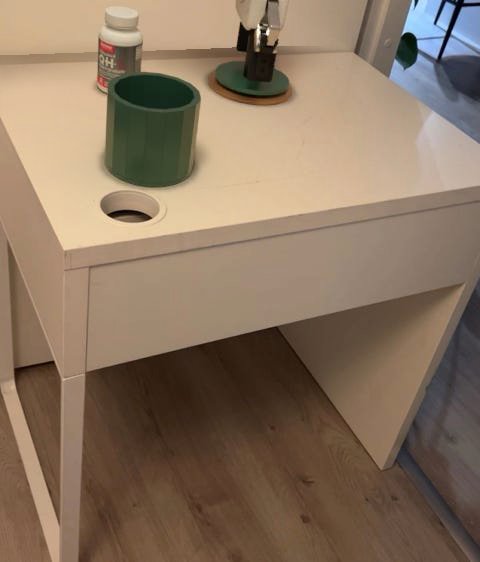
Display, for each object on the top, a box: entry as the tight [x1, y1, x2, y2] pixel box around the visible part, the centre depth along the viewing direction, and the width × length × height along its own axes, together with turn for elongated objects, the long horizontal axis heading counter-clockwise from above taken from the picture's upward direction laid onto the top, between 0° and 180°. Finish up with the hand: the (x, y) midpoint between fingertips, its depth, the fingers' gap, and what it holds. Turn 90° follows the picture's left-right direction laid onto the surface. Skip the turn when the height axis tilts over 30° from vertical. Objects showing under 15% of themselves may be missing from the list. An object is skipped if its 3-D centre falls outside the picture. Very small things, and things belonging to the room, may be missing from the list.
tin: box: [104, 71, 202, 188], centre depth 77 cm, size 9×9×8 cm
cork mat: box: [207, 70, 293, 106], centre depth 100 cm, size 12×12×1 cm
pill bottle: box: [96, 5, 144, 94], centre depth 91 cm, size 5×5×10 cm
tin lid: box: [215, 32, 290, 95], centre depth 98 cm, size 10×10×7 cm
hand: (252, 65), depth 99 cm, fingers open, 9 cm apart
